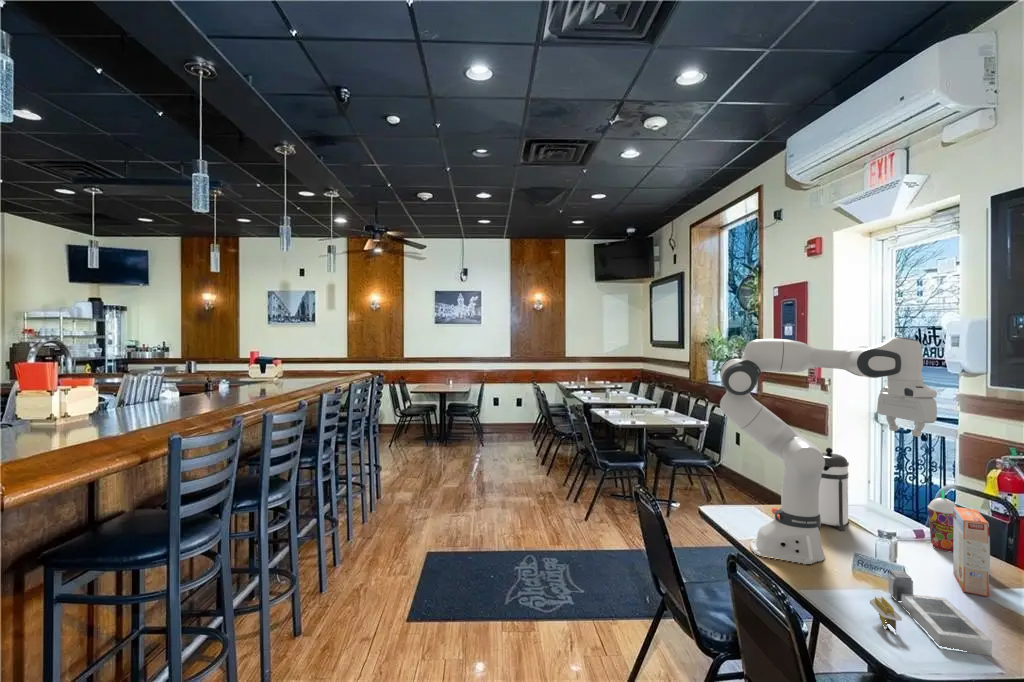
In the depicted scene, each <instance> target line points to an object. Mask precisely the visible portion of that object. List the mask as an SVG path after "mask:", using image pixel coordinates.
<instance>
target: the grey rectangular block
mask: <svg viewBox="0 0 1024 682" xmlns="http://www.w3.org/2000/svg"><path fill="white" fill-rule="evenodd" d="M887 576H888V580H887V581H888V593H889V595H890V594H891V595H892V596H893V597H894V598H895V599H896V600H897V601H902V600H901V593H903V594H912V595H914V581H913V580H912V577H911V576H910V575H909V574H908V573H907V572H906V571H904V570H896V569H895V570H894V569H889V574H888V575H887ZM891 595H890V596H891ZM892 596H891V597H892ZM893 597H892V598H893ZM894 598H893V599H894Z"/></svg>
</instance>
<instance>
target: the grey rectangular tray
mask: <svg viewBox="0 0 1024 682" xmlns="http://www.w3.org/2000/svg"><path fill="white" fill-rule="evenodd" d="M901 600H902V603H901V607H902V606H903V607H904V608H905V609H906V610H907V611H908V612H909V613H910V615H911V616H912V617H913V618H914V619H915V620H916V621H917V622H918V623H919V624H920V625H921V626H922V627H923V628H924V629H925V630H926V631H927V632H928V634H929V635H930V636H931V637H932V638H933V639H934V641H935V642H936V643H937V644H938V645H939V646H942V647H947V648H951V649H953V648H954V649H959V650H963V651H967V652H972V653H971V654H974V653H976V654H975V655H982V656H990V657H992V656H993V653H992V652H993V648H992V647H993V640H992V639H991V638H990V637H988V636H987V635H986V634H985V632H983V631H982V630H981V629H980V628H979V627H978V626H976V625H975V624H974V623H973V622H972V621H971V620H970V619H969V618H968V617H967V616H966V615H964V614H963V612H962V611H960V610H959V609H958V607H956V606H955V605H954V604H953V603H951V602H950V601H949V600H948V599H947V598H946V597H938V596H937V597H936V596H930V595H929V596H928V595H919V594H913V595H912V594H903V593H901ZM903 607H902V608H903ZM904 608H903V609H904ZM910 615H909V616H910ZM911 616H910V617H911ZM912 617H911V618H912Z"/></svg>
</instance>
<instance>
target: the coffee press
mask: <svg viewBox="0 0 1024 682" xmlns="http://www.w3.org/2000/svg"><path fill="white" fill-rule="evenodd" d="M822 454H823V456H824V459H825V466H824V469H823V470H822V475H821V480H820V485H819V514H820V518H821V524H824V525H828V526H834V527H836V528H837V529H838V530H839V532H845V531H846V529H845V525H847V526H848V525H849V524H850V521H849V477H850V476H849V472H848V471H849V470H848V469H849V466H850V462H849V461H848V460H847V458H846V457H845V456H843V455H841V454H838V453H833V449H832V448H831V447H826V449H825V452H822Z"/></svg>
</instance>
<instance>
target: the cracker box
mask: <svg viewBox="0 0 1024 682" xmlns="http://www.w3.org/2000/svg"><path fill="white" fill-rule="evenodd" d="M953 526H954V534H953V538H954V551H953V557H952V558H953V559H952V561H953V565H952V566H953V568H952V570H953V572H952V573H953V575H954V577H955V579H956V581H957V583H958V585H959V587H960V588H961V590H962V592H963V593H968V594H973V595H976V596H977V595H978V596H983V597H987V598H988V597H989V596H990V595H989V593H990V586H989V585H990V582H989V581H990V578H989V577H990V576H989V536H990V524H989V522H988V521H987V520H986V518H984V516H983V515H982V514H981V513H980V512H979V511H978V509H975V508H967V507H960V506H956V507H953Z"/></svg>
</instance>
